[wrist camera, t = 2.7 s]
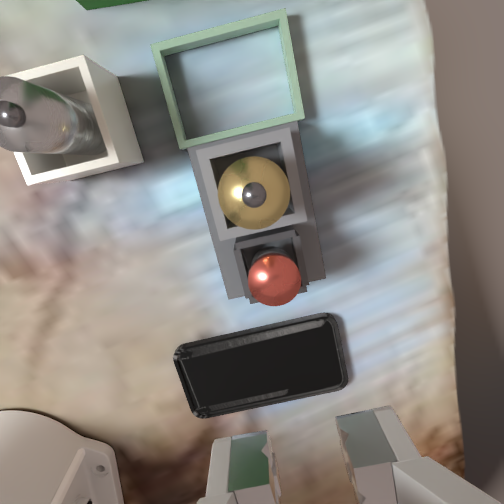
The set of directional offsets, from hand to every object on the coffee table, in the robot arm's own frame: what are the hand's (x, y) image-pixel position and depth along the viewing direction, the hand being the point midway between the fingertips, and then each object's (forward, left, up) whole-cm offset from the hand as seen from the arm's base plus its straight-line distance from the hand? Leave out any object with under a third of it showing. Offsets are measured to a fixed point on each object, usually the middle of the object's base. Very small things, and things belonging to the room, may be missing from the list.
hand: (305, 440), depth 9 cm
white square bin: (+12, +11, -19) cm, 25 cm away
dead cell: (+12, +11, -19) cm, 25 cm away
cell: (+6, 0, -17) cm, 18 cm away
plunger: (0, 0, -16) cm, 16 cm away
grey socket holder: (+3, 0, -19) cm, 19 cm away
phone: (-11, +3, -20) cm, 23 cm away
